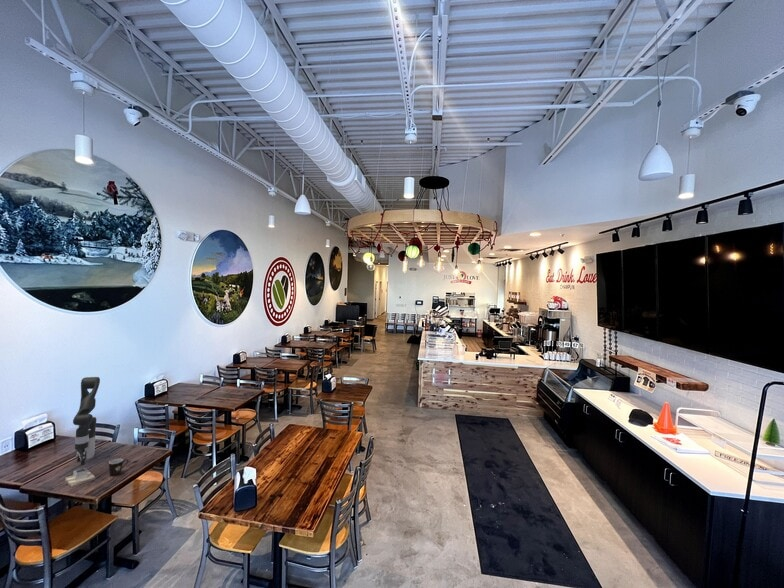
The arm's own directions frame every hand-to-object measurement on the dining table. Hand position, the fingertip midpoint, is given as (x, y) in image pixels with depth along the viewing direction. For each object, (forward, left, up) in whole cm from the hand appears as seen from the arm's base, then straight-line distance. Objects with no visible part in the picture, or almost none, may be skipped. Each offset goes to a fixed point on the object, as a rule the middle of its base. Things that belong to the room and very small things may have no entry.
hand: (80, 463), depth 243 cm
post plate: (0, 0, -12) cm, 12 cm away
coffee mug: (+12, +19, -12) cm, 26 cm away
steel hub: (0, 0, -11) cm, 11 cm away
